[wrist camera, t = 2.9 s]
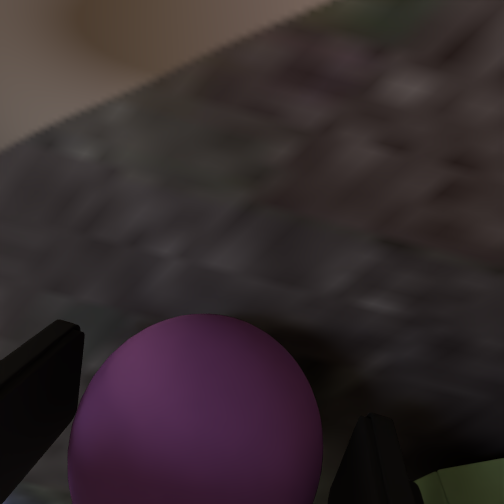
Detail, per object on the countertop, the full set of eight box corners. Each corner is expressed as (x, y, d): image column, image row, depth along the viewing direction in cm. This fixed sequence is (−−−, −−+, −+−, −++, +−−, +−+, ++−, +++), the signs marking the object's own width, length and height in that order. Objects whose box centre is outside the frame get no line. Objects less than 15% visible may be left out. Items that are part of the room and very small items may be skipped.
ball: (152, 256, 12) (0, 373, 6) (346, 311, 11) (377, 492, 6) (128, 412, 14) (-5, 610, 8) (292, 464, 13) (276, 713, 8)
